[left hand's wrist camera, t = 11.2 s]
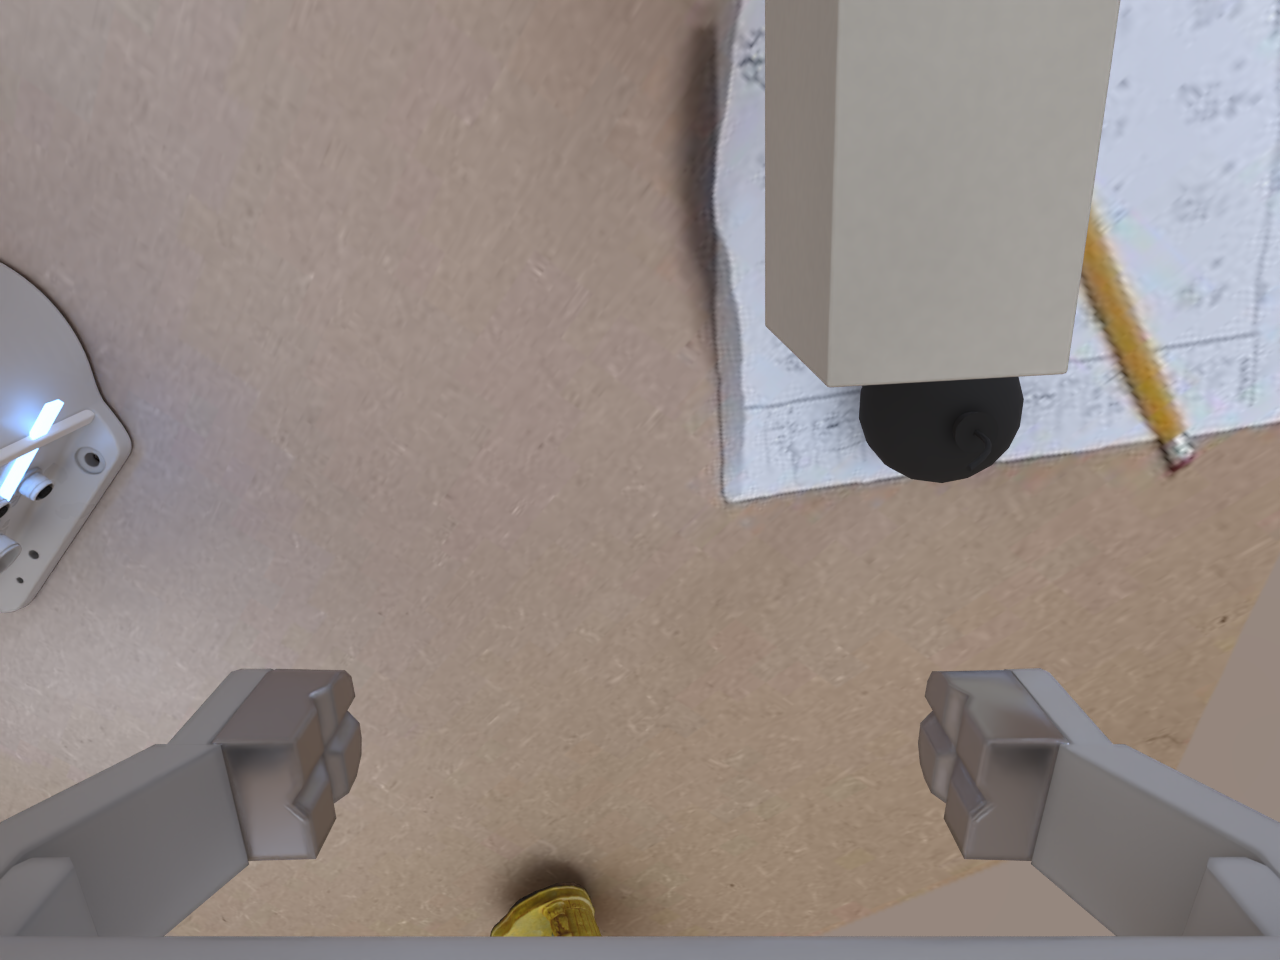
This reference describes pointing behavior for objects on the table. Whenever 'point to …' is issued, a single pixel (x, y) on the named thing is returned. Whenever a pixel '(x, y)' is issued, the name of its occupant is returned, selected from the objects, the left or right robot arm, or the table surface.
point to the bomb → (941, 425)
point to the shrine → (550, 914)
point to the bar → (930, 182)
